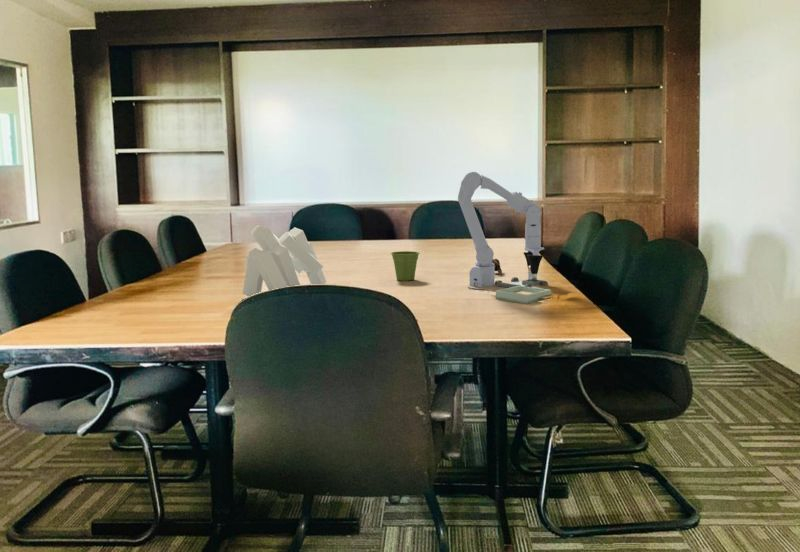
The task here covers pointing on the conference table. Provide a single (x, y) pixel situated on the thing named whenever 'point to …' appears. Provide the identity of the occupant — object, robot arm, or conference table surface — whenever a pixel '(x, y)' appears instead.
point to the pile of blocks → (280, 261)
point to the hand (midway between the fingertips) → (532, 272)
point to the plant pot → (405, 264)
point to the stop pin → (531, 275)
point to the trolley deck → (521, 283)
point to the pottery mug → (497, 266)
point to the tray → (522, 298)
